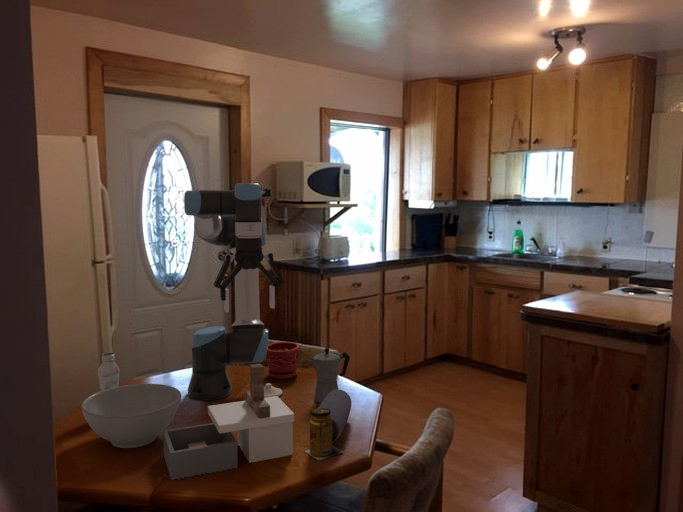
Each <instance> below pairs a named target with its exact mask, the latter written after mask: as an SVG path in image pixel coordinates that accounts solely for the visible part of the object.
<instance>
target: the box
mask: <svg viewBox="0 0 683 512" xmlns="http://www.w3.org/2000/svg"><path fill="white" fill-rule="evenodd" d="M162 435H163V441H162V442H163V457H164V460H165V464H166V467H167V471H168V474H169V477H171V478H170V480H173V481H175V480H174V479H178V480H180V479H179V478H183V479H185V478H184V477H188V478H190V477H189V476H194V477H196V476H195V475H199V476H202V475H201V474H204V475H206V474H205V473H209V474H213V473H212V472H214V473H217V472H216V471H219V472H222V471H221V470H225V471H227V470H226V469H230V470H233V469H232V468H235V469H238V463H239V461H238V440H237V439H236V437H235V436H234V435H233V433H232V431H231V432H225V433H219V432H218V430H217V428H216V427H215V425H214V423H213V422H210V423H204V424H203V423H202V424H198V425H192V426H191V425H190V426H184V427H178V428H173V429H171V428H170V429H164V430H163V431H162ZM203 441H205V443H206V446H201V447H195V448H189V449H188V444H191V443H197V442H203Z"/></svg>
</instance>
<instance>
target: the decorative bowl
mask: <svg viewBox="0 0 683 512" xmlns="http://www.w3.org/2000/svg"><path fill="white" fill-rule="evenodd" d="M181 400H182V393H181V391H180V390H179V389H178V388H175V387H174V386H170V385H167V384H161V383H135V384H133V383H132V384H125V385H118V387H114V388H110V389H107V390H103V391H101V390H100V391H97V392H96V393H93V394H92V395H90V396H88V397H87V398H85V399H84V401H82V403H81V412H82V415H83V417H84V418H85V421H86V422H87V424H88V425H89V427H90V428H91V430H92V431H93V432H94V433H96V435H97V436H99V437H100V438H102V439H104V440H105V441H108V442H110V443H111V445H112V446H113V447H116V448H121V449H134V448H139V447H143V446H146V445H149V444H150V443H152V442H154V441H155V440H156V439H157V436H158V435H160V434H161V433H163V431H164V430H166V429H167V428H168V426H169V425H170V424H171V422H172V421H173V420H174V418H175V416H176V414H177V412H178V409H179V407H180V404H181Z"/></svg>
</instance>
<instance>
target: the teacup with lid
mask: <svg viewBox="0 0 683 512" xmlns="http://www.w3.org/2000/svg"><path fill="white" fill-rule="evenodd" d="M283 395H284V392H283V390H282V389H281V388H279V387H275V386H273V385H272V383H269V382H267V383H264V398H267V397H274V396H278V397H279V398H280V399H281V400H282V401H283Z"/></svg>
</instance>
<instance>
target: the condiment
mask: <svg viewBox="0 0 683 512" xmlns="http://www.w3.org/2000/svg"><path fill="white" fill-rule="evenodd" d="M330 413H331V412H330V410H329V409H327V408H319V407H316V408H313V409H311V412H310V414H311V415H310V420H309V449H307V450H304V452H305V453H306V454H307V455H308V456H311V457H312V458H313V459H316V460H317V461H322V460H325V459H329V458H331V457H334V456H337V455H339V454H343V453H344V451H343V450H341V449H339V448H337V447H336V446H334V445H333V444H332V420H331V415H330Z"/></svg>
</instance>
